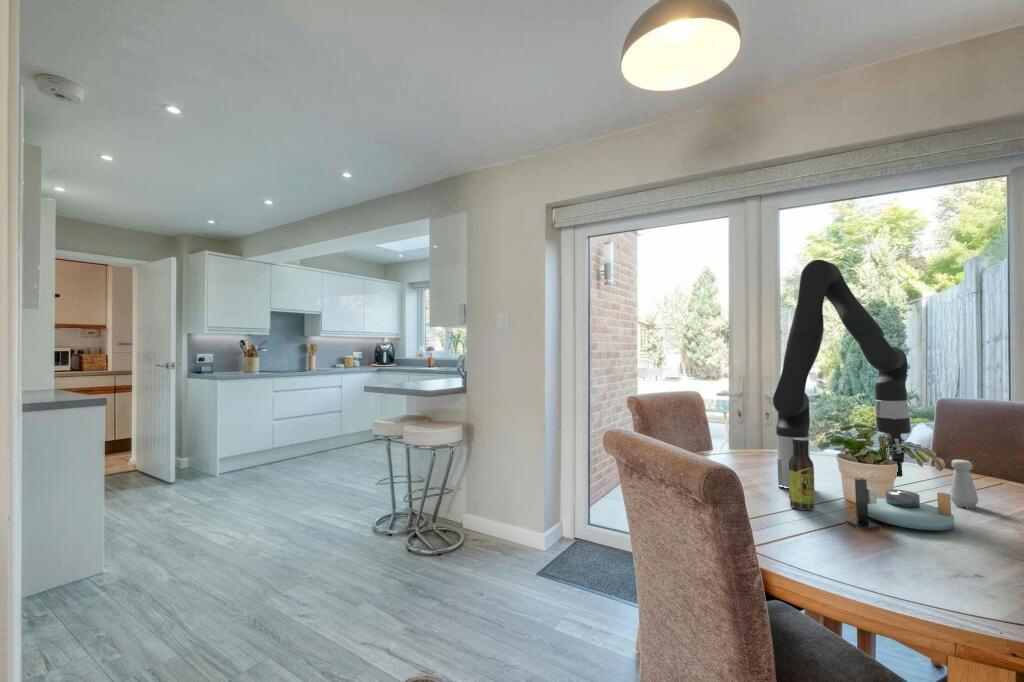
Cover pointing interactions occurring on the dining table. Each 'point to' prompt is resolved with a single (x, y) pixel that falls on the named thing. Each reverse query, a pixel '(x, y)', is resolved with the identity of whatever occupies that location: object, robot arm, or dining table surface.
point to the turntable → (915, 514)
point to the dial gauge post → (863, 505)
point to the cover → (902, 498)
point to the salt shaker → (963, 485)
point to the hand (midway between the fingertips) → (897, 475)
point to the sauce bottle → (801, 476)
